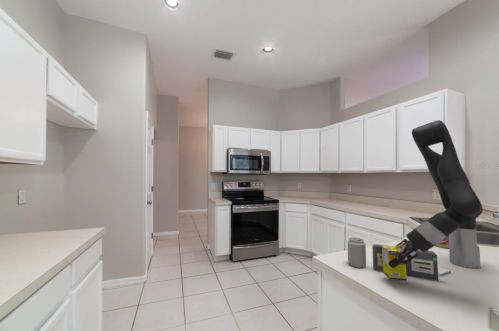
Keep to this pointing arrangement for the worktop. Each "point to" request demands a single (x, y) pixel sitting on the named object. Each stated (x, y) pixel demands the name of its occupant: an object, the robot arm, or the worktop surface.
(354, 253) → the can
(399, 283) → the worktop surface
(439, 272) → the external hard drive
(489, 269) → the worktop surface
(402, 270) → the supplement box
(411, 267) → the panel
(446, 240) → the cake
